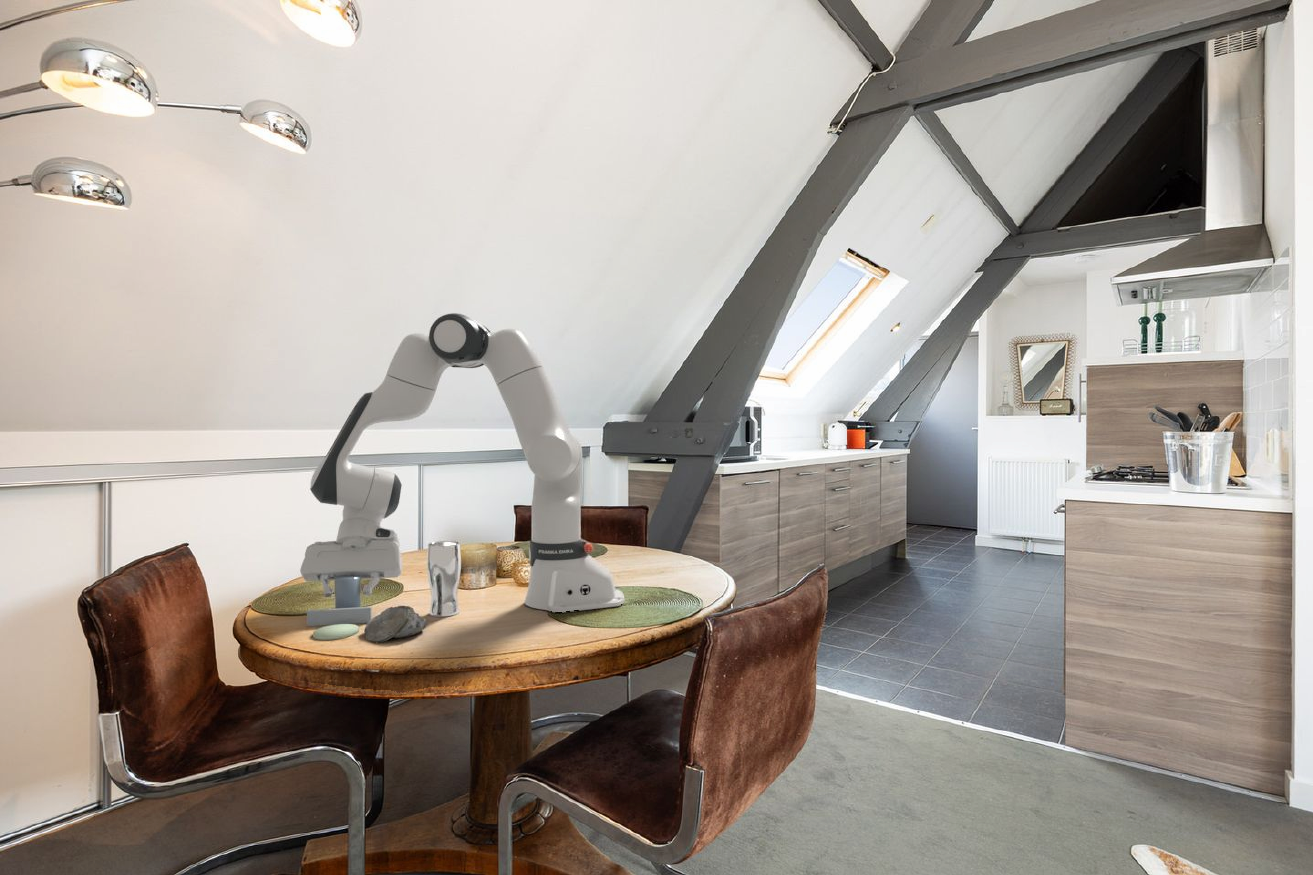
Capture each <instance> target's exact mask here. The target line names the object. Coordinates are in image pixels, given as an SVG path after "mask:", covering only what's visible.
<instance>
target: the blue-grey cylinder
mask: <svg viewBox="0 0 1313 875" xmlns="http://www.w3.org/2000/svg"><path fill="white" fill-rule="evenodd" d="M361 580H362V579H361V576H360V575H343V576H338V577H336V578H335V580H334V609H336V608H355V607H362V604H361V603H362V594H361V593H362V589H361V588H362V586H361V582H362V581H361Z"/></svg>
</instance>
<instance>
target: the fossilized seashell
mask: <svg viewBox="0 0 1313 875" xmlns="http://www.w3.org/2000/svg"><path fill="white" fill-rule="evenodd" d="M427 625H428V622H427V620H426V619H425V617H421V615H420V613H417V612H415V610H414V608H413V607H412V606H409V605H408V606H407V605H398V606H394V607H393V606H391V607H388V608H386V609H384V610H382V611H381V612H380V614H378V615H376V616H374V617H372V619H371V620H370V621H369V622H368V623H365V626H364V632H363V633H364V637H365V639H366V640H367V641H370V642H371V641H372V643H376V642H380V643H379V644H381V643H384V642H387V641H388V640H389V641H390V639H392V638H395V639H401V638H407V637H410V636H414V635H416V634H418V633H420V632H421V631H423V630H425V629H426V628H427Z"/></svg>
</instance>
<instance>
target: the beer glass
mask: <svg viewBox="0 0 1313 875" xmlns="http://www.w3.org/2000/svg"><path fill="white" fill-rule="evenodd" d="M461 554H462V553H461V542H460V541H456V540H440V541H439V540H437V541H432V542H429V543H428V544H427V553H426V570H427V571H426V572H427V578H428V583H429V588H430V594H431V595H430V597H431V599H430V602H431V603H430V606H429V616H431V617H434V618H445V617H452V616H456V615H458V614H459V612H460V607H459V601H458V589H459V583H460V577H461V570H462V556H461Z"/></svg>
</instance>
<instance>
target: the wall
mask: <svg viewBox="0 0 1313 875" xmlns="http://www.w3.org/2000/svg"><path fill="white" fill-rule="evenodd" d="M372 610H373V608H372V606H361V607H355V608H336V609H335V608H321V609H320V608H319V609H308V610H307V611H306V626H307V627H317V626H330V625H337V624H353V625H355V624H367V623H368V622H369V621H370V620H371V619H373V612H372Z"/></svg>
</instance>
